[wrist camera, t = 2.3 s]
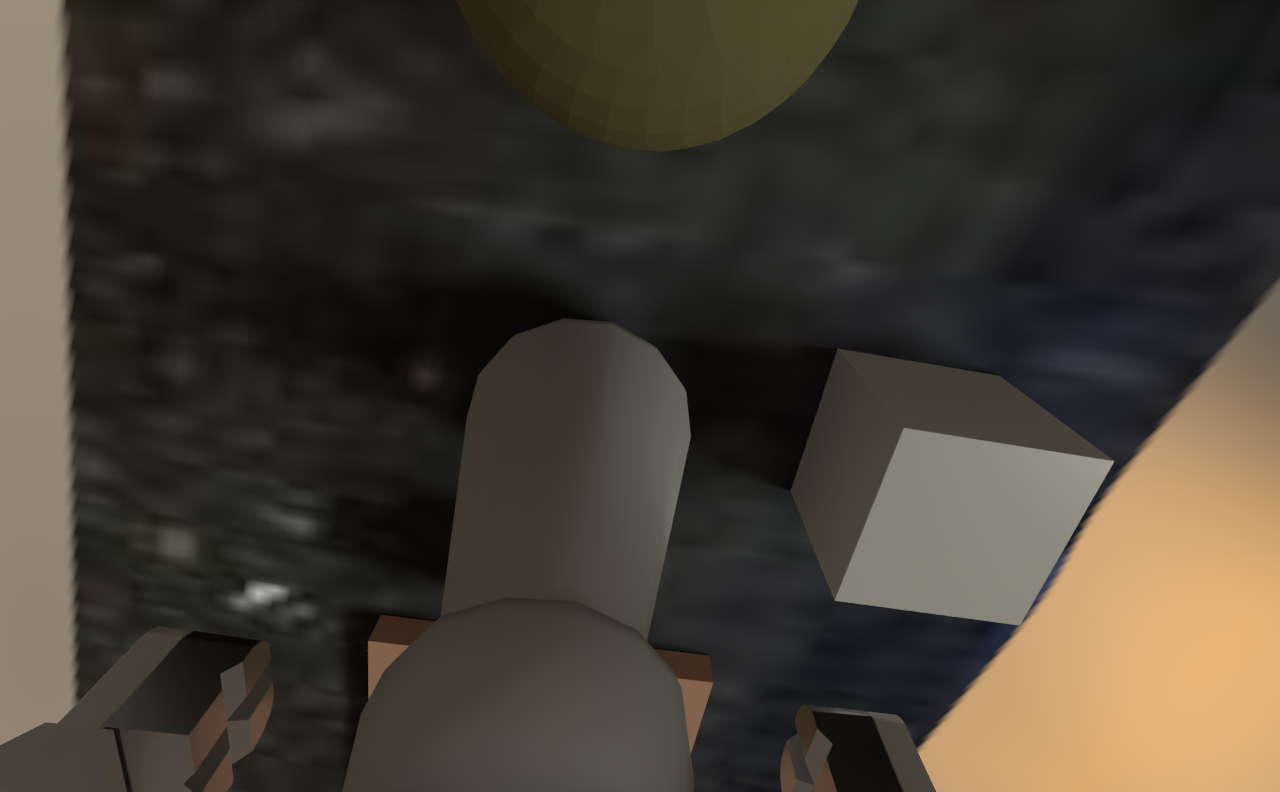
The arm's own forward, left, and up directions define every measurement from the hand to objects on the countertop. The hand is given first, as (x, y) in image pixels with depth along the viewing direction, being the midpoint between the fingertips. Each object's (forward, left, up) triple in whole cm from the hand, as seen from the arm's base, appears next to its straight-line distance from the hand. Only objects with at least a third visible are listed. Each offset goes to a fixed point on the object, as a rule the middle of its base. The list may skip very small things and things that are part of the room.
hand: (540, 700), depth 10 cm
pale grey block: (-1, +9, -10) cm, 14 cm away
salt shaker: (-1, 0, -10) cm, 10 cm away
